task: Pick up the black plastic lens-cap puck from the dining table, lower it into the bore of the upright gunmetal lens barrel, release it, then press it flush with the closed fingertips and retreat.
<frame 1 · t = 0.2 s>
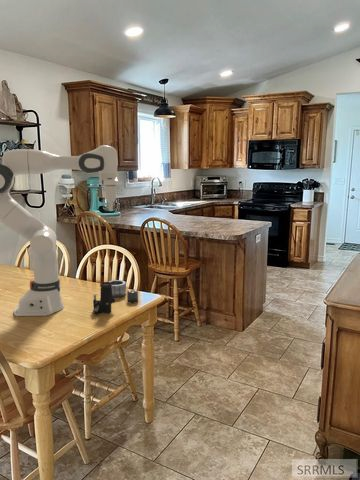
hand: (109, 209, 185), 47 cm above the table, fingers open, 8 cm apart
scope: (104, 312, 183), on the table
barrel: (116, 294, 207), on the table
cap: (132, 301, 197), on the table
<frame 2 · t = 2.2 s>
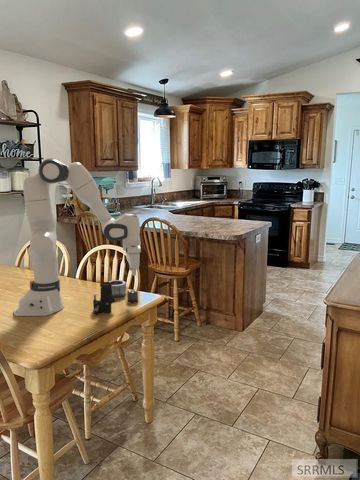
hand: (132, 272, 194), 15 cm above the table, fingers open, 8 cm apart
nothing on the table moved.
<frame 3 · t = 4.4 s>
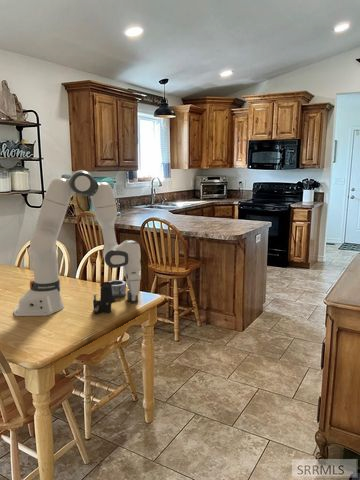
hand: (132, 298, 197), 2 cm above the table, fingers closed on cap, 5 cm apart
cap: (132, 301, 197), on the table, touching gripper
everything else where it was.
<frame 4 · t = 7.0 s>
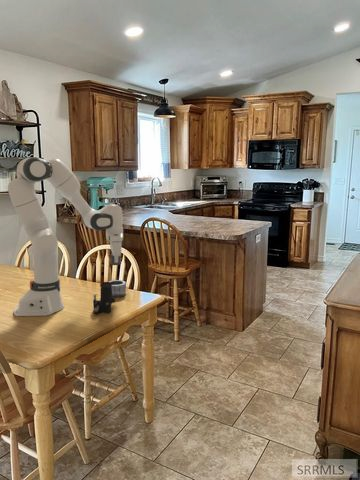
hand: (115, 260, 203), 19 cm above the table, fingers closed on cap, 5 cm apart
cap: (115, 263, 203), point 17 cm above the table, touching gripper
everything else where it was.
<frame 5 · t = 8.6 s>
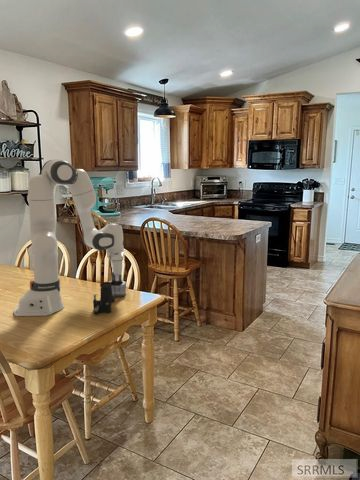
hand: (116, 278, 205), 9 cm above the table, fingers closed on cap, 5 cm apart
cap: (116, 281, 206), point 7 cm above the table, touching gripper
everything else where it was.
when the fingers open (7 cm above the table, at t = 9.9 s): cap drops 2 cm, resting on barrel.
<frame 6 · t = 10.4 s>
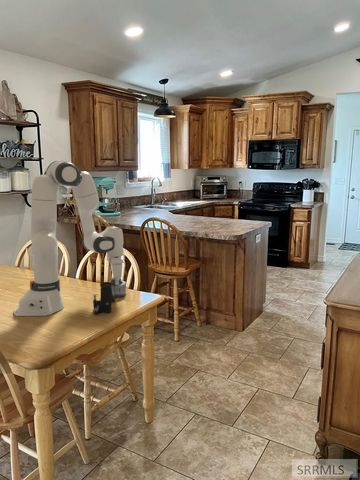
hand: (116, 281, 205), 7 cm above the table, fingers open, 8 cm apart
cap: (116, 288, 206), point 3 cm above the table, touching barrel
everything else where it was.
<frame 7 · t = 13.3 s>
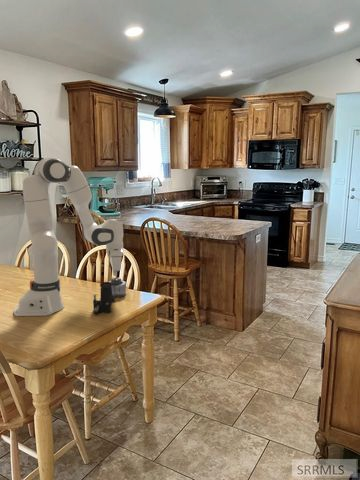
hand: (114, 275, 204), 11 cm above the table, fingers closed
nothing on the table moved.
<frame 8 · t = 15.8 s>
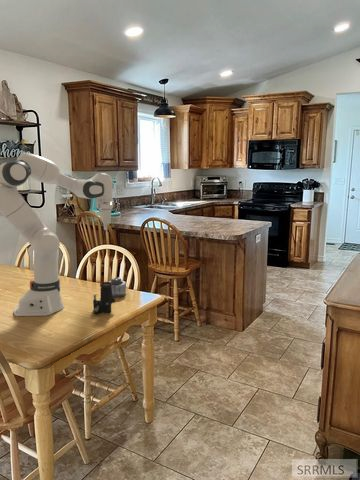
hand: (105, 229, 207), 34 cm above the table, fingers closed
nothing on the table moved.
at the end: cap 0.1 cm off-centre on the barrel, point 3.5 cm above the barrel's base; cap tilted 0°; the gripper is holding nothing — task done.
